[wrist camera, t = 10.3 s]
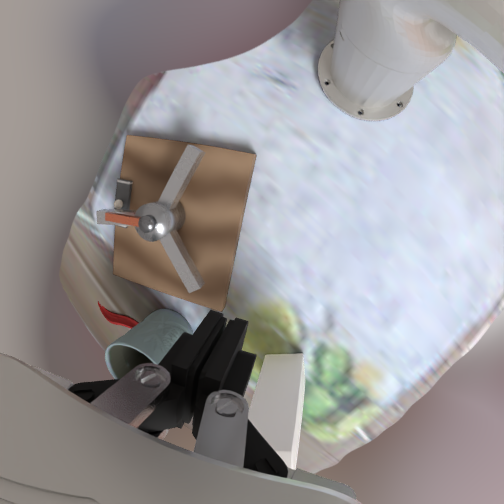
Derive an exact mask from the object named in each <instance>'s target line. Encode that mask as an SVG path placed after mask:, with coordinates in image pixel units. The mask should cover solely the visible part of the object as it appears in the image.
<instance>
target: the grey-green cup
mask: <svg viewBox="0 0 504 504" xmlns="http://www.w3.org/2000/svg"><path fill="white" fill-rule="evenodd" d="M184 332H187V333H189V334H192V335H193V331H192V329H191V327H190V325H189V323H188V322H187V320H186V319H185V318H184V317H183V316H181V315H180V314H179V313H177V312H175V311H173V310H169V309H159V310H156V311H154V312H153V313H151V314H150V315H148V316H147V317H146V318H145V319H144V321H142V322H140V323H139V324H137V325H136V326H134V327H133V328H132V329H131V330H130V331H128V332H127V333H126V334H125V335H123V336H122V337H120V338H118V339H117V340H116V341H114V342H113V343H111V344H110V345H109V346H108V347H107V349H106V352H105V360H106V364H107V367H108V369H109V371H110V373H111V374H112V376H113V377H114V378H115V379H121V378H122V377H124V376H125V375H126V374H127V373H128V372H130V371H131V370H132V369H133V368H135V367H136V366H138V365H140V364H144V363H153V364H159V363H160V361H161V360H162V359H163V358H164V356H165V355H166V354H167V352H168V351H169V350H170V349H171V347H172V346H173V345H174V344H175V342H176V341H177V340H178V338H179V337H180V336H181V335H182V334H183V333H184Z"/></svg>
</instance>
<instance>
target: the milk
mask: <svg viewBox="0 0 504 504" xmlns="http://www.w3.org/2000/svg"><path fill="white" fill-rule="evenodd" d="M304 391H305V370H304V356H303V353H297V354H266V355H265V358H264V361H263V364H262V368H261V371H260V375H259V378H258V382H257V385H256V388H255V392H254V395H253V398H252V402H251V405H250V408H249V411H248V419H249V420H250V422H251V423H252V424H253V425H254V427H255V428H256V429H257V430H258V431H259V433H260V434H261V435H262V436H263V438H264V439H265V440H266V441H267V442H268V444H269V445H270V446H271V447H272V448H273V449H274V451H275V452H276V453H277V454H278V455H279V456H280V457H281V459H282V460H283V461H284V462H285V464H286V465H287V467H288V468H291V469H294V470H295V469H296V462H297V454H298V446H299V438H300V430H301V421H302V412H303V402H304Z"/></svg>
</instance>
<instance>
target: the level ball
mask: <svg viewBox="0 0 504 504" xmlns="http://www.w3.org/2000/svg"><path fill="white" fill-rule="evenodd" d="M114 207H115V208H116V209H121V208H122V207H123V202H122V200H119V199H118V200H116V201H115V202H114Z"/></svg>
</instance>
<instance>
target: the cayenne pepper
mask: <svg viewBox="0 0 504 504" xmlns="http://www.w3.org/2000/svg"><path fill="white" fill-rule="evenodd" d="M98 305H99V307H100V310H101V312H102V314H103V315H104V317H105V318H106V319H107V320H108V321H109V322H110V323H112V324H116V325H122V326H125V327H128V328H131V329H132V328H133V327H134V326H136V325H137V324H139V323H138V322H137V321H135V320H134V319H132V318H130V317H127V316H124V315H119V314H115V313H112V312H110V311H108V310H107V309H105V308H104V307H103V306H101V305H100V304H99V302H98Z"/></svg>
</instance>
